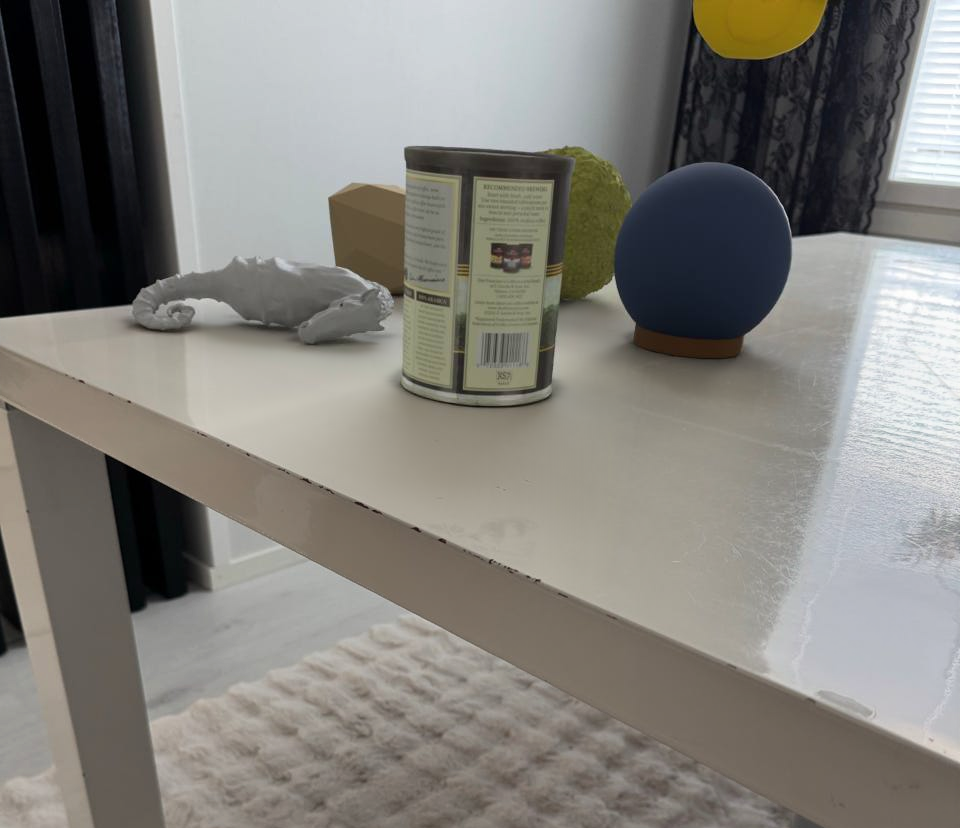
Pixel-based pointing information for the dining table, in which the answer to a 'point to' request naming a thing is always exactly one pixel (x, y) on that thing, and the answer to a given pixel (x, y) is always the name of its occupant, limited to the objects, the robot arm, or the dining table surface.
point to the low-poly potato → (370, 232)
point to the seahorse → (274, 297)
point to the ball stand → (702, 260)
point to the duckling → (756, 25)
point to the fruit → (591, 222)
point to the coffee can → (482, 272)
